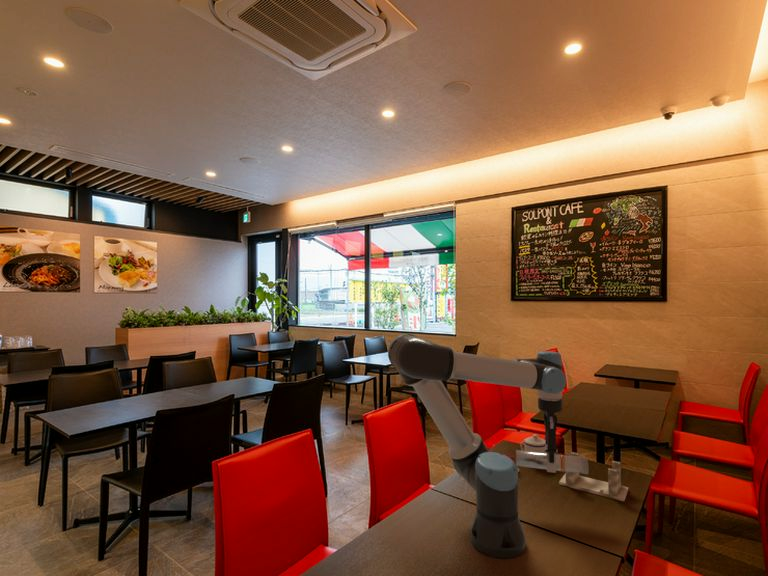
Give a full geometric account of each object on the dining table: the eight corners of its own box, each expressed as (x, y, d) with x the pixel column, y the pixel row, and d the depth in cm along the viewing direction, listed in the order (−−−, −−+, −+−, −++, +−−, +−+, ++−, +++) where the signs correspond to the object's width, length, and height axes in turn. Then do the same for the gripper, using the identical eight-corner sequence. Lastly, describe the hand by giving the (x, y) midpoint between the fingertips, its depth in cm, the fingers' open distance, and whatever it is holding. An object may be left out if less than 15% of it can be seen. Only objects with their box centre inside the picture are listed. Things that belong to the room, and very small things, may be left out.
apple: (520, 475, 159) (520, 458, 159) (499, 474, 161) (499, 457, 161) (518, 467, 167) (517, 451, 167) (497, 465, 168) (497, 449, 169)
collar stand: (559, 484, 151) (558, 458, 151) (566, 474, 159) (565, 450, 159) (624, 501, 138) (623, 473, 138) (628, 490, 146) (627, 463, 146)
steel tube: (516, 465, 136) (515, 449, 138) (516, 466, 140) (515, 450, 142) (589, 473, 129) (587, 456, 131) (586, 474, 133) (585, 458, 135)
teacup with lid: (552, 464, 169) (551, 435, 169) (538, 469, 164) (537, 440, 164) (527, 454, 179) (527, 428, 179) (514, 459, 174) (513, 432, 174)
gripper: (565, 406, 126) (566, 481, 126) (559, 392, 143) (560, 459, 143) (539, 404, 128) (540, 478, 128) (536, 391, 146) (537, 456, 145)
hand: (550, 468), depth 135 cm, fingers closed on steel tube, 5 cm apart
